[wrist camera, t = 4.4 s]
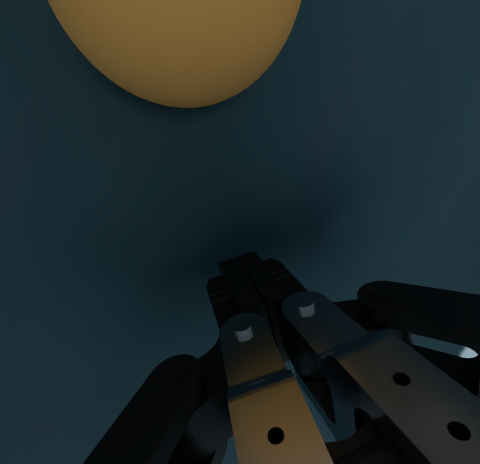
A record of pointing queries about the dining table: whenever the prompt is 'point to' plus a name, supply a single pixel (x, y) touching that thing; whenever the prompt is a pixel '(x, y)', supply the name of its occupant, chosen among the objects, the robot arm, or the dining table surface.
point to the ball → (179, 44)
